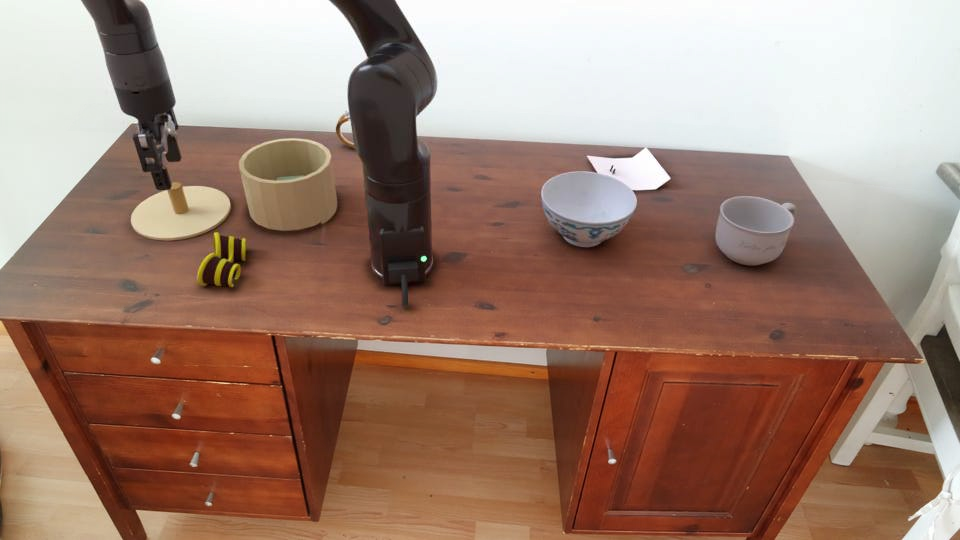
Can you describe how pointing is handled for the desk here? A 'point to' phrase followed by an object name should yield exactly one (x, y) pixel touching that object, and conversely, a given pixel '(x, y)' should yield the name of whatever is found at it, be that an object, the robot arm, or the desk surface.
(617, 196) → the chinaware
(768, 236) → the teacup
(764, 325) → the desk surface
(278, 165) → the canister
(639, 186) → the folded paper
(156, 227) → the canister lid
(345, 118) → the ring
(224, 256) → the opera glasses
